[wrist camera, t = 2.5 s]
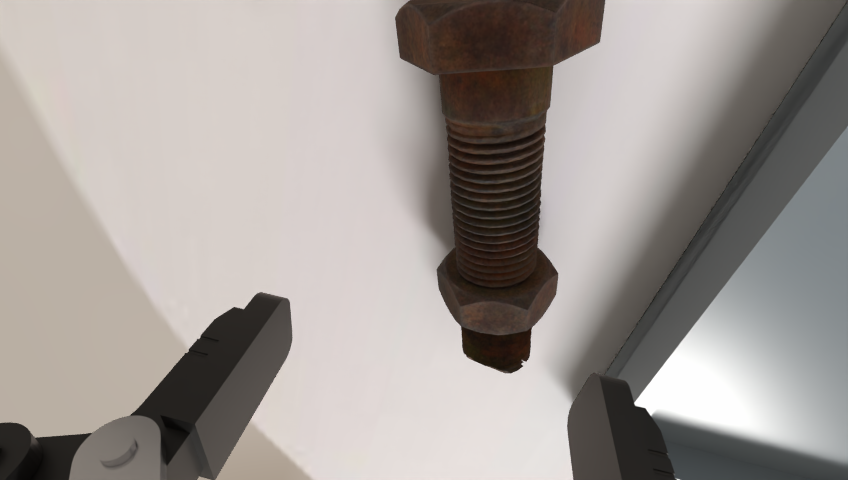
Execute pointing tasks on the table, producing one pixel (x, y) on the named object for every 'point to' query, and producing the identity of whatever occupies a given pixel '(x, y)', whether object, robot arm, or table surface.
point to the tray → (761, 304)
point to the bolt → (496, 153)
